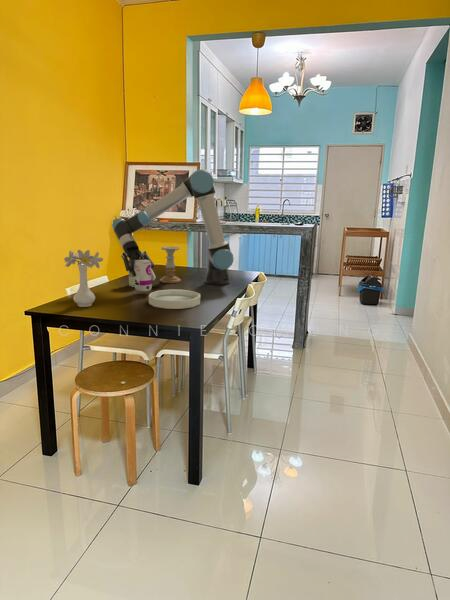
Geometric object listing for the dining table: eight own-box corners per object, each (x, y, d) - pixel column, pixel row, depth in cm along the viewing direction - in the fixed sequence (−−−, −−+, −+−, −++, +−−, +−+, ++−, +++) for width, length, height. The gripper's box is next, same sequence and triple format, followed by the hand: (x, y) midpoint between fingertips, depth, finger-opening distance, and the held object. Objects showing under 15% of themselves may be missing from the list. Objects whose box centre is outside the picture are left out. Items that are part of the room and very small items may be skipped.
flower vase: (108, 301, 192) (106, 248, 187) (86, 311, 175) (83, 253, 169) (83, 299, 195) (80, 246, 189) (59, 308, 178) (55, 251, 172)
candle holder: (167, 278, 251) (167, 245, 246) (184, 280, 246) (184, 247, 242) (155, 282, 240) (155, 247, 236) (173, 284, 235) (173, 249, 231)
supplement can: (154, 288, 212) (153, 260, 208) (146, 292, 204) (145, 262, 201) (140, 287, 214) (139, 259, 211) (132, 290, 207) (131, 261, 203)
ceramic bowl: (200, 296, 208) (200, 290, 207) (200, 309, 184) (200, 301, 183) (152, 295, 206) (152, 289, 205) (146, 308, 183) (146, 300, 182)
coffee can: (132, 283, 235) (131, 258, 232) (149, 284, 234) (149, 259, 231) (126, 286, 225) (125, 261, 222) (144, 287, 224) (144, 262, 221)
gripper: (143, 248, 222) (161, 281, 215) (108, 250, 209) (125, 286, 201) (149, 239, 217) (167, 273, 210) (113, 241, 203) (130, 277, 196)
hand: (146, 279), depth 205 cm, fingers closed on supplement can, 8 cm apart
